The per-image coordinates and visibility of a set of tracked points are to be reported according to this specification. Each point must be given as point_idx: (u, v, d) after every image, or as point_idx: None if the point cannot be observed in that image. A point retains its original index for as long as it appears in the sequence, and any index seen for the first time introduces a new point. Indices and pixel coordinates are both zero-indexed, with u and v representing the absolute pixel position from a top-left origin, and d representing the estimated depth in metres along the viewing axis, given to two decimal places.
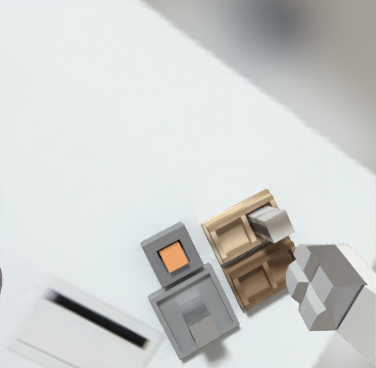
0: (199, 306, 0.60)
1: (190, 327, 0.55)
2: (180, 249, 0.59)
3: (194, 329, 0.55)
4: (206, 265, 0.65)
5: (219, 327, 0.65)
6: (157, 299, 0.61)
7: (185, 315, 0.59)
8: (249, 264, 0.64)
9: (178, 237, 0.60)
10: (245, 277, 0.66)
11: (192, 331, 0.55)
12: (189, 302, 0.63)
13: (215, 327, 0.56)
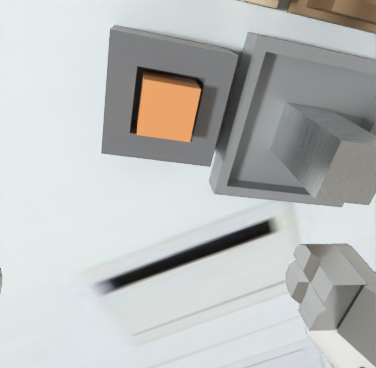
0: (303, 131, 0.25)
1: (318, 195, 0.22)
2: (157, 85, 0.21)
3: (330, 191, 0.22)
4: (248, 43, 0.25)
5: (371, 109, 0.29)
6: (224, 180, 0.29)
7: (291, 168, 0.26)
8: None
9: (132, 65, 0.22)
10: None
11: (329, 197, 0.22)
12: (280, 131, 0.28)
13: (373, 149, 0.21)
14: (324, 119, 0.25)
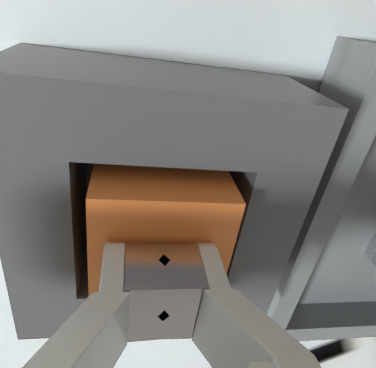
0: None
1: None
2: (127, 209, 0.08)
3: None
4: (342, 62, 0.11)
5: None
6: (281, 323, 0.15)
7: None
8: None
9: (53, 162, 0.08)
10: None
11: None
12: None
13: None
14: None
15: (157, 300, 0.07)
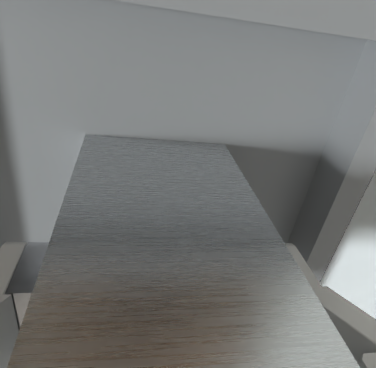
0: None
1: None
2: None
3: None
4: None
5: (337, 135, 0.11)
6: None
7: None
8: None
9: None
10: None
11: None
12: None
13: None
14: (140, 212, 0.07)
15: None
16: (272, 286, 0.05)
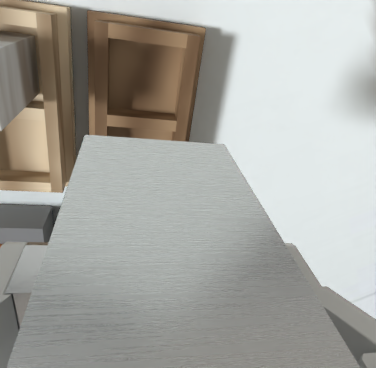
0: None
1: None
2: None
3: None
4: None
5: None
6: None
7: None
8: None
9: None
10: None
11: None
12: None
13: None
14: (140, 213, 0.07)
15: None
16: (272, 287, 0.05)
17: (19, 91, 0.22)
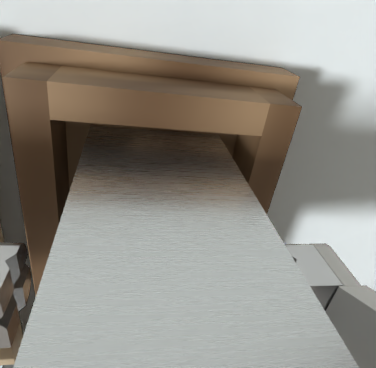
0: None
1: None
2: None
3: None
4: None
5: None
6: None
7: None
8: None
9: None
10: None
11: None
12: None
13: None
14: (141, 190, 0.07)
15: None
16: (255, 250, 0.06)
17: None
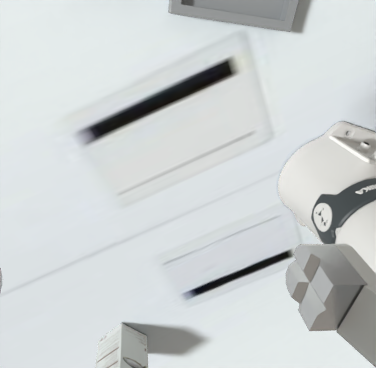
0: None
1: None
2: None
3: None
4: None
5: None
6: None
7: None
8: None
9: None
10: None
11: None
12: None
13: None
14: None
15: None
16: None
17: None
